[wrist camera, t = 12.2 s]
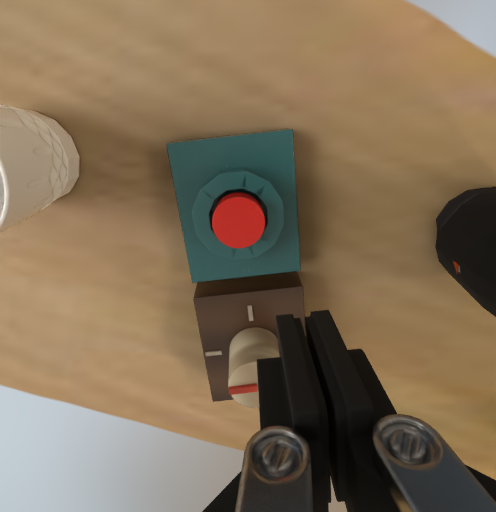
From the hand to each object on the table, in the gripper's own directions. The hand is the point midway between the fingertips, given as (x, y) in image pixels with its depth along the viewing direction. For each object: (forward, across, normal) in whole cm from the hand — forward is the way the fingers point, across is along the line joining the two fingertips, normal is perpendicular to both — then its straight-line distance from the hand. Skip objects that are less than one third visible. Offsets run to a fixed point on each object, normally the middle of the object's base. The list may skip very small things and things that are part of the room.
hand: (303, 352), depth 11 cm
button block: (+19, +2, -1) cm, 19 cm away
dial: (+16, +2, +11) cm, 19 cm away
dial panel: (+19, +2, +11) cm, 22 cm away
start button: (+15, +2, -1) cm, 15 cm away
